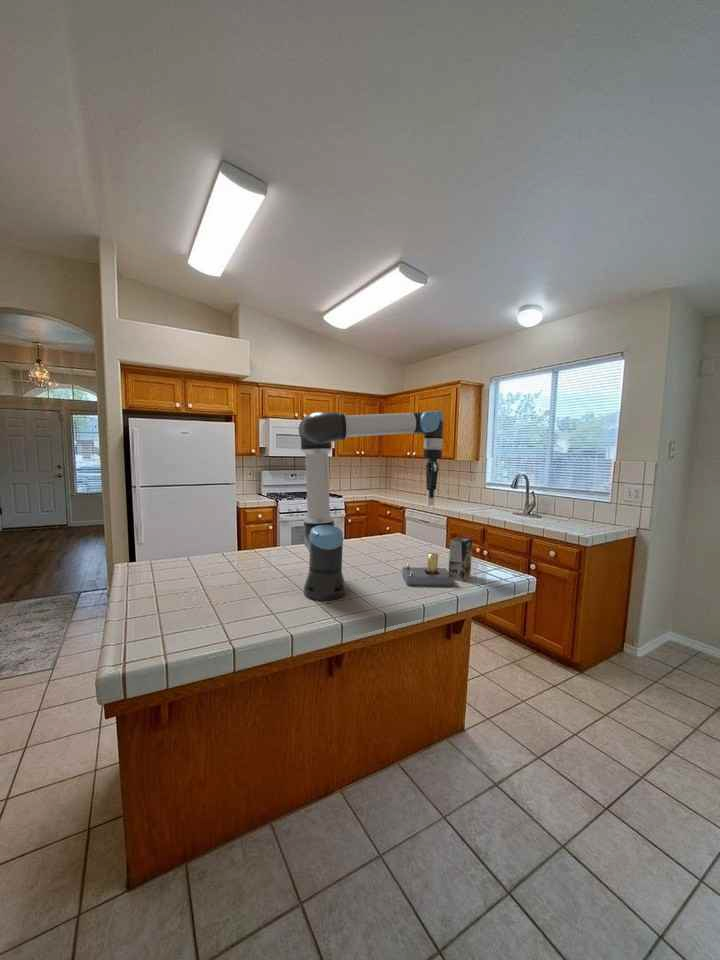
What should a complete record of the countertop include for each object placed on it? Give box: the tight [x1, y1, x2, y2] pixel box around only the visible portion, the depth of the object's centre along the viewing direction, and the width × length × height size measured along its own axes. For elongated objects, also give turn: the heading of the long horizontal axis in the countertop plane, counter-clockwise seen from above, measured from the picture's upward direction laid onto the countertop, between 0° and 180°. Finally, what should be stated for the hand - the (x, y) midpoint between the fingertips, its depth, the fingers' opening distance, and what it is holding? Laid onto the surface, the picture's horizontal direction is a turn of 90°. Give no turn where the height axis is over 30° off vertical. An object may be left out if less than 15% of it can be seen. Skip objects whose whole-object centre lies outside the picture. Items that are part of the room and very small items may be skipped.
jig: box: [401, 563, 454, 587], centre depth 155 cm, size 18×12×5 cm, turn 92°
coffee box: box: [448, 536, 473, 582], centre depth 161 cm, size 9×6×16 cm
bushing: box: [426, 552, 439, 574], centre depth 155 cm, size 4×4×11 cm
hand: (430, 505), depth 162 cm, fingers closed
